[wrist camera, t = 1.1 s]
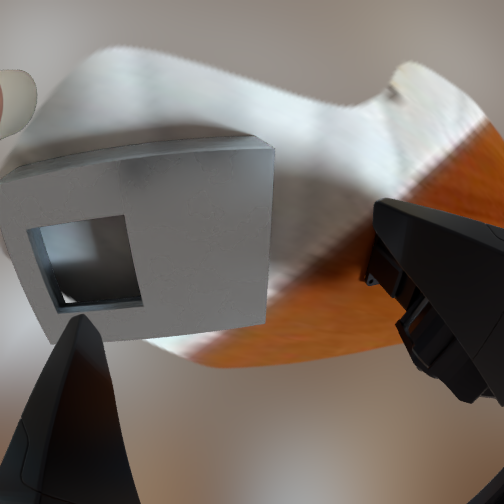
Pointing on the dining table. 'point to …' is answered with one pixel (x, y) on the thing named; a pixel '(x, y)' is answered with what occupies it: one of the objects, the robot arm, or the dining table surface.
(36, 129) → the dining table surface
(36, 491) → the robot arm
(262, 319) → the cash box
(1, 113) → the coin roll
